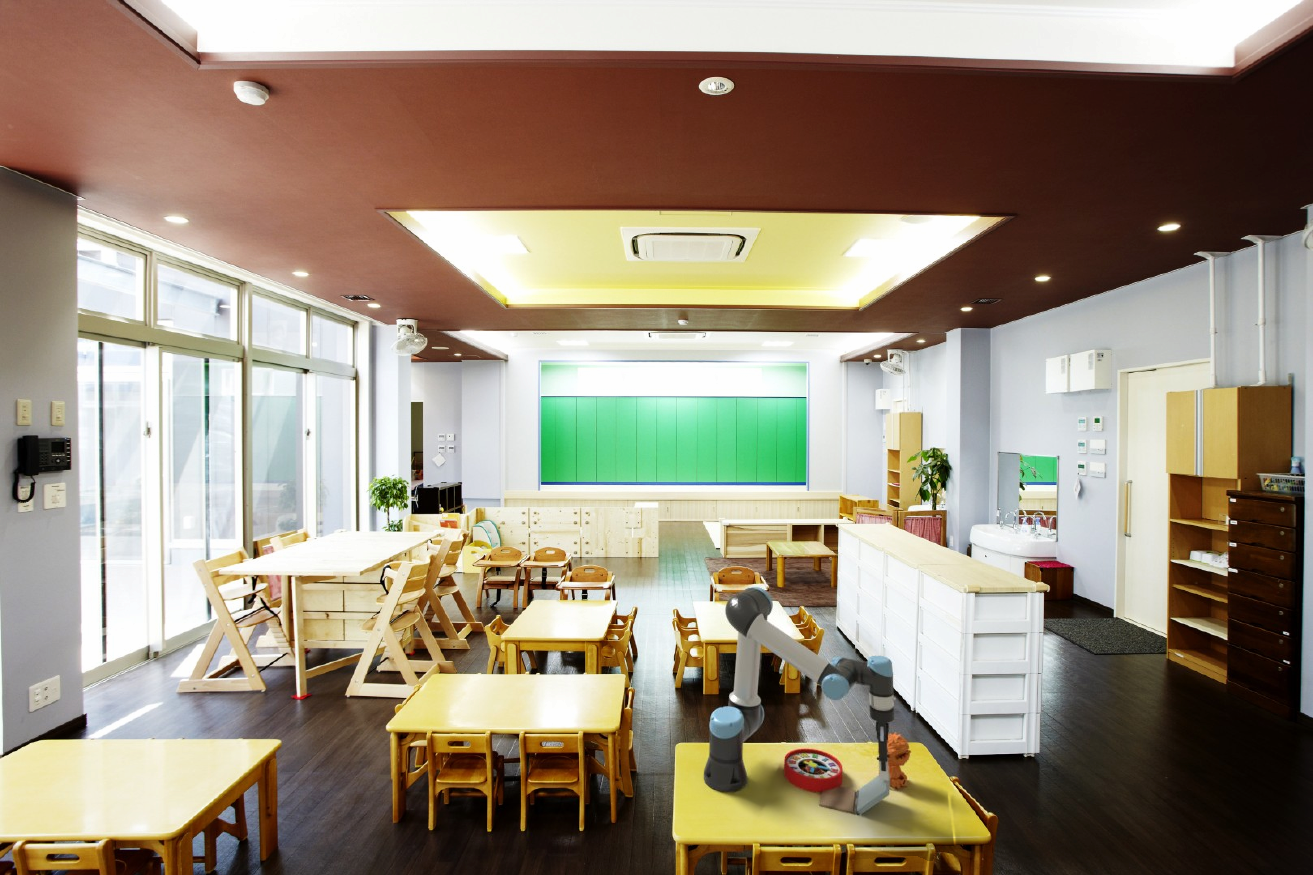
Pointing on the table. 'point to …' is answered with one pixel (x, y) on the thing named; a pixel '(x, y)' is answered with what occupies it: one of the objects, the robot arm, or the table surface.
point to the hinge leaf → (872, 793)
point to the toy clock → (813, 770)
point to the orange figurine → (897, 759)
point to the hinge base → (839, 799)
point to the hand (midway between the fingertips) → (884, 778)
